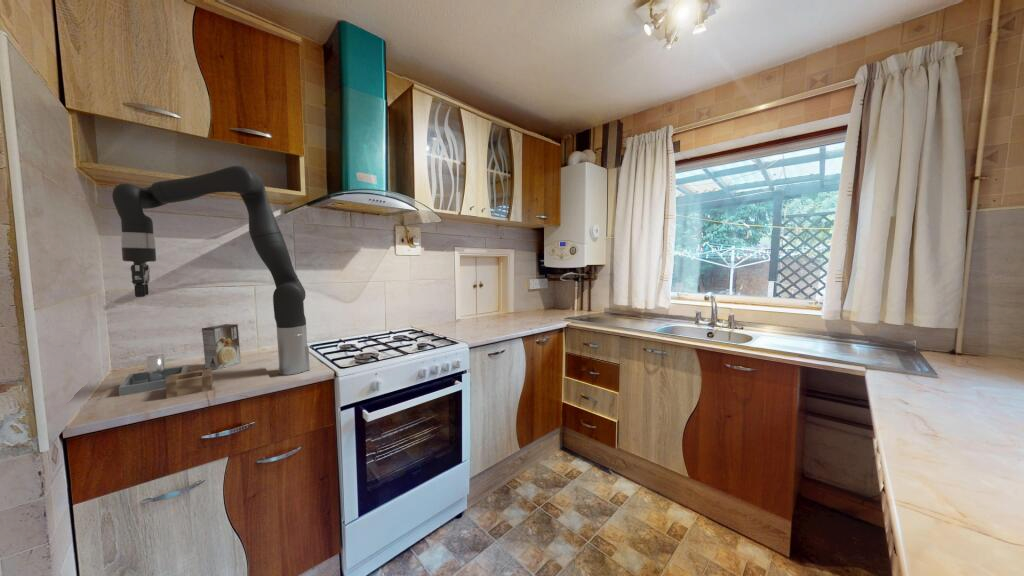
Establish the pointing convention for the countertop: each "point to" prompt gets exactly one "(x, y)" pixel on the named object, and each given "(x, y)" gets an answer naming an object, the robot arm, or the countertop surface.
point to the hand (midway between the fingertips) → (142, 295)
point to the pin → (155, 367)
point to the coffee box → (221, 346)
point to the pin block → (189, 383)
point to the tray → (146, 381)
